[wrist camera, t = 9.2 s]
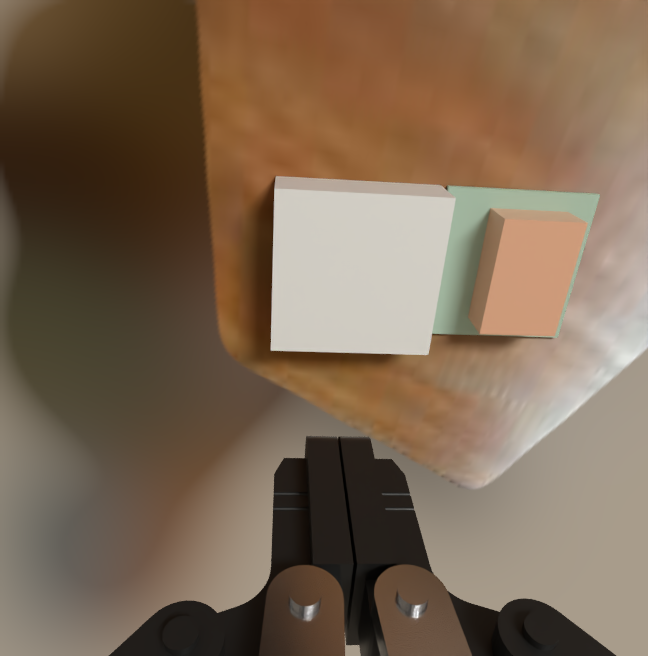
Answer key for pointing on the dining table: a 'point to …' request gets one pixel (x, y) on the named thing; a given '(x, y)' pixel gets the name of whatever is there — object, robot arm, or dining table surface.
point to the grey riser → (357, 265)
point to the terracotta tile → (525, 271)
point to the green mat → (470, 238)
